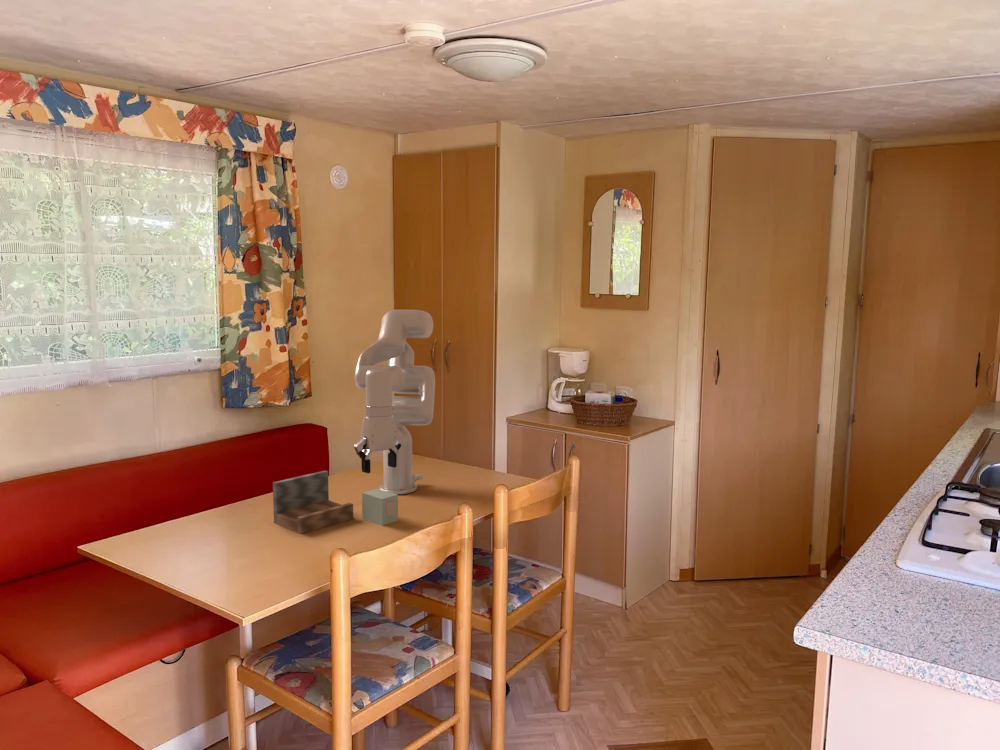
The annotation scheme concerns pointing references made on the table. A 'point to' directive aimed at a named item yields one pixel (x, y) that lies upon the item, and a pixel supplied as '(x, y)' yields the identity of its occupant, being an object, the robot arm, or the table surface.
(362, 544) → the table surface
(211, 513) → the table surface
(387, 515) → the mini block
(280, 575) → the table surface
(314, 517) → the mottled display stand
